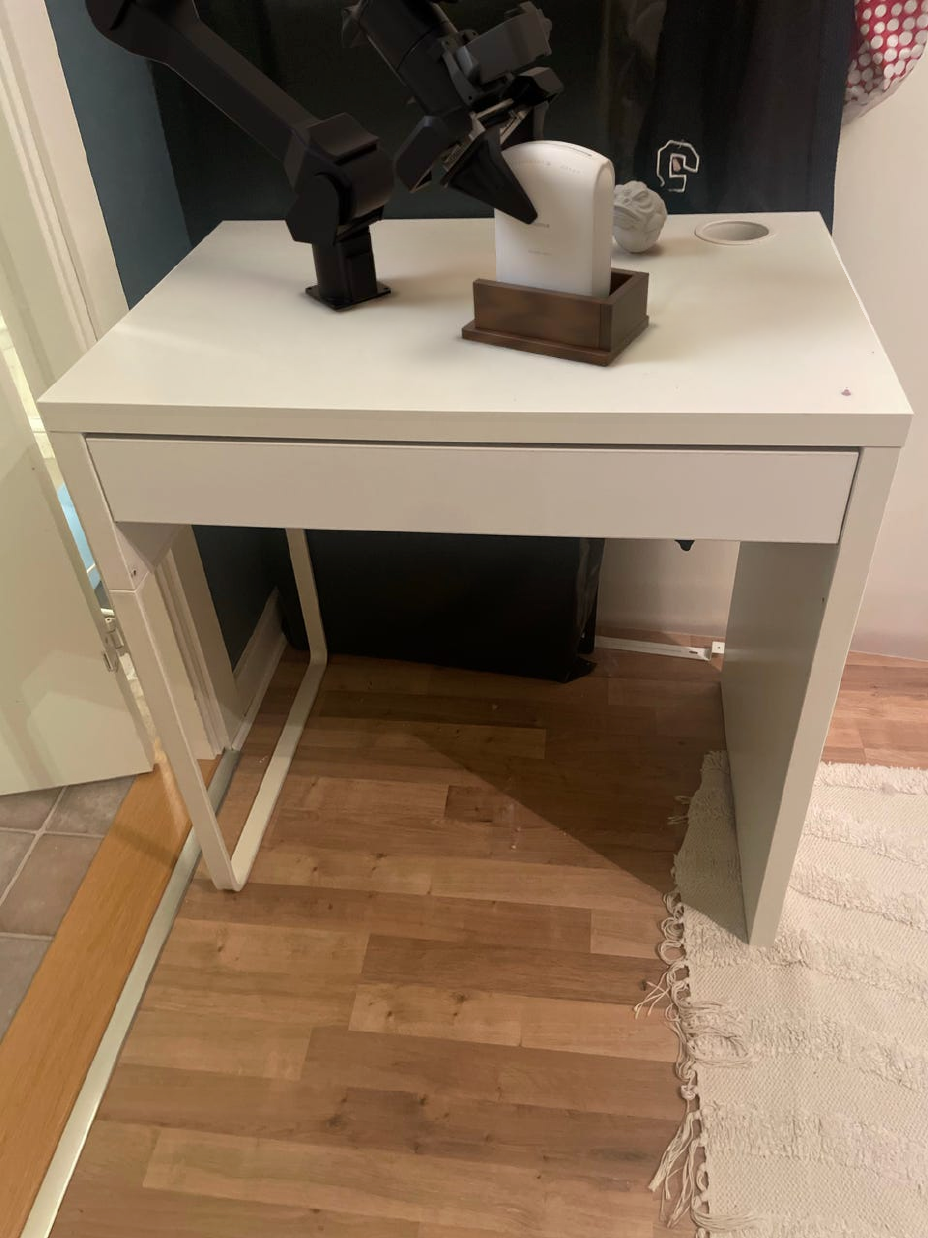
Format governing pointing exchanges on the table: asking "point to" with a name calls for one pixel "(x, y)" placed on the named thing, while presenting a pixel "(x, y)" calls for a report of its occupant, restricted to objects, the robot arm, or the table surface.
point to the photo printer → (559, 220)
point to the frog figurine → (637, 216)
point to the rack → (561, 318)
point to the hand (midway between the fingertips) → (546, 212)
